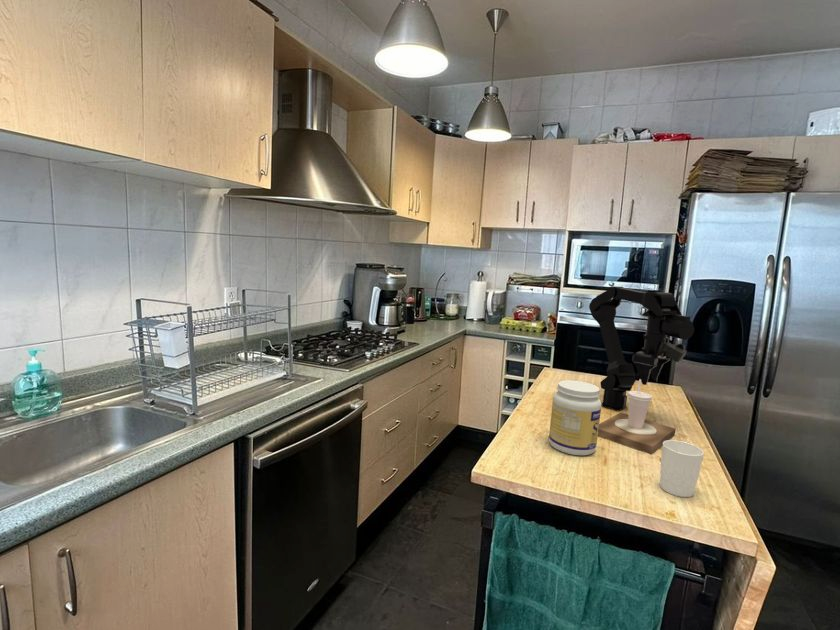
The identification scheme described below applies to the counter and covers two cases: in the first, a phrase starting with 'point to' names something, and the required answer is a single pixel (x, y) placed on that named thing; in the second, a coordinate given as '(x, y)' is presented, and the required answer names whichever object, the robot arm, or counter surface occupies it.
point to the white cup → (680, 467)
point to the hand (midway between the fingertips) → (649, 382)
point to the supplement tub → (575, 417)
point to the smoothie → (638, 407)
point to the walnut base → (635, 433)
